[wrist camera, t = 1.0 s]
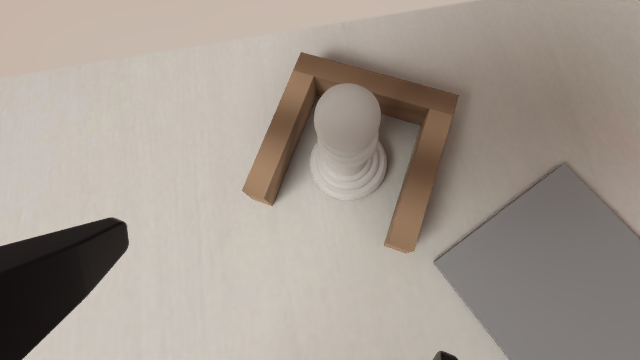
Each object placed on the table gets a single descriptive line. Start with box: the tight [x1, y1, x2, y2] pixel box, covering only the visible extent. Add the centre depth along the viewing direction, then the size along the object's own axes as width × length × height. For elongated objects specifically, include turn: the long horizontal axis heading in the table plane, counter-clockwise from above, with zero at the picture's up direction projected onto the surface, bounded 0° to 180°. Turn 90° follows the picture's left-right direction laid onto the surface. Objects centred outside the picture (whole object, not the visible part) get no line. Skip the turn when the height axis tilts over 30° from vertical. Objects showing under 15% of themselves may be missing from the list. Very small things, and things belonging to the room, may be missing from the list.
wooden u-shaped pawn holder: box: [242, 52, 459, 253], centre depth 22 cm, size 10×11×2 cm
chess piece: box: [310, 83, 387, 200], centre depth 19 cm, size 5×5×9 cm
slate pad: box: [433, 163, 640, 360], centre depth 20 cm, size 11×11×1 cm
